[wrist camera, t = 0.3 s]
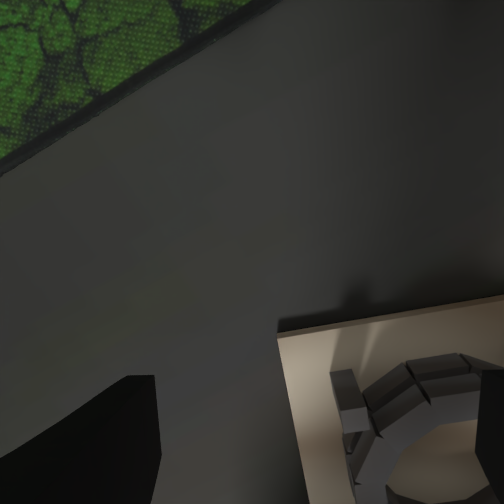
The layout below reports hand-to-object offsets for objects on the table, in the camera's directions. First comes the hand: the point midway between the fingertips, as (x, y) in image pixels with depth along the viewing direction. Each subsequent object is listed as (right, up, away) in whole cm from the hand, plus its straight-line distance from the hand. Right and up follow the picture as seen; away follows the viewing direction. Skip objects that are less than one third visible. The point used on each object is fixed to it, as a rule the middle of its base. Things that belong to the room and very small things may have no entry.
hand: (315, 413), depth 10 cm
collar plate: (+7, -5, +11) cm, 15 cm away
